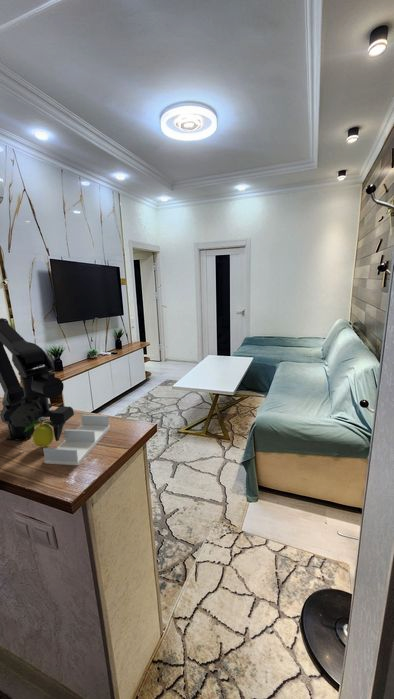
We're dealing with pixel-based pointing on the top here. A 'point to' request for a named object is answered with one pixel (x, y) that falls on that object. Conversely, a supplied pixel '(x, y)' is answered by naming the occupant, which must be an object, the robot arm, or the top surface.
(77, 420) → the top surface
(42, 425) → the lemon
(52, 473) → the top surface
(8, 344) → the robot arm
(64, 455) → the white divided tray
